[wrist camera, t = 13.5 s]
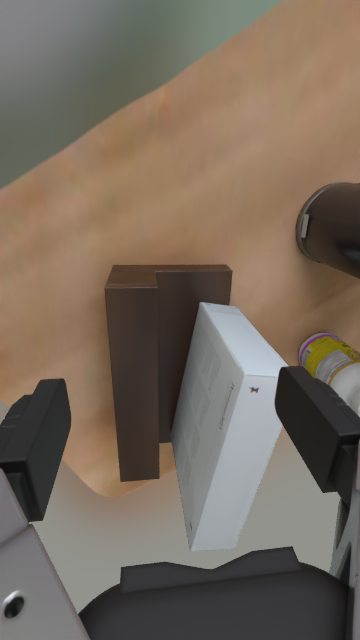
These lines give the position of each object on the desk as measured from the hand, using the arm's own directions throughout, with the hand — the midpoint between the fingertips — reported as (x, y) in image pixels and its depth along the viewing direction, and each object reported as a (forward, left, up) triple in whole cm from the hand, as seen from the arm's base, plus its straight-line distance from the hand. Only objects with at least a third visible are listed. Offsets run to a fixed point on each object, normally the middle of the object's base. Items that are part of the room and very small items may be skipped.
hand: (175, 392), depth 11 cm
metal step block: (-2, +15, -28) cm, 31 cm away
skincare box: (-6, +16, -25) cm, 30 cm away
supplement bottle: (-24, +15, -28) cm, 40 cm away
